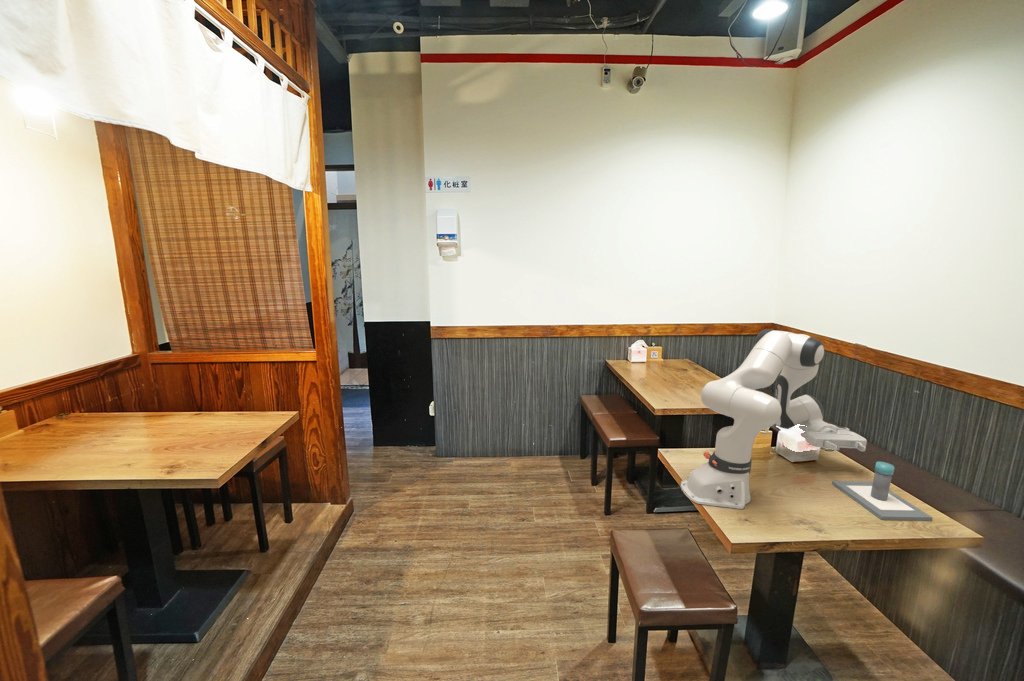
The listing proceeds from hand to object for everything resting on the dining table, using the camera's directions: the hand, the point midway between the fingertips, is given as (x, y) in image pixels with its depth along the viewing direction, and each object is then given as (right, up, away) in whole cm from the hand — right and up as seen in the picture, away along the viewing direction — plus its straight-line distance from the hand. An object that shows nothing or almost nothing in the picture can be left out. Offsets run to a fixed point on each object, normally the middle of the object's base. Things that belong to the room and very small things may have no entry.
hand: (850, 449), depth 158 cm
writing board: (+1, -15, -10) cm, 18 cm away
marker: (+1, -14, -11) cm, 18 cm away
